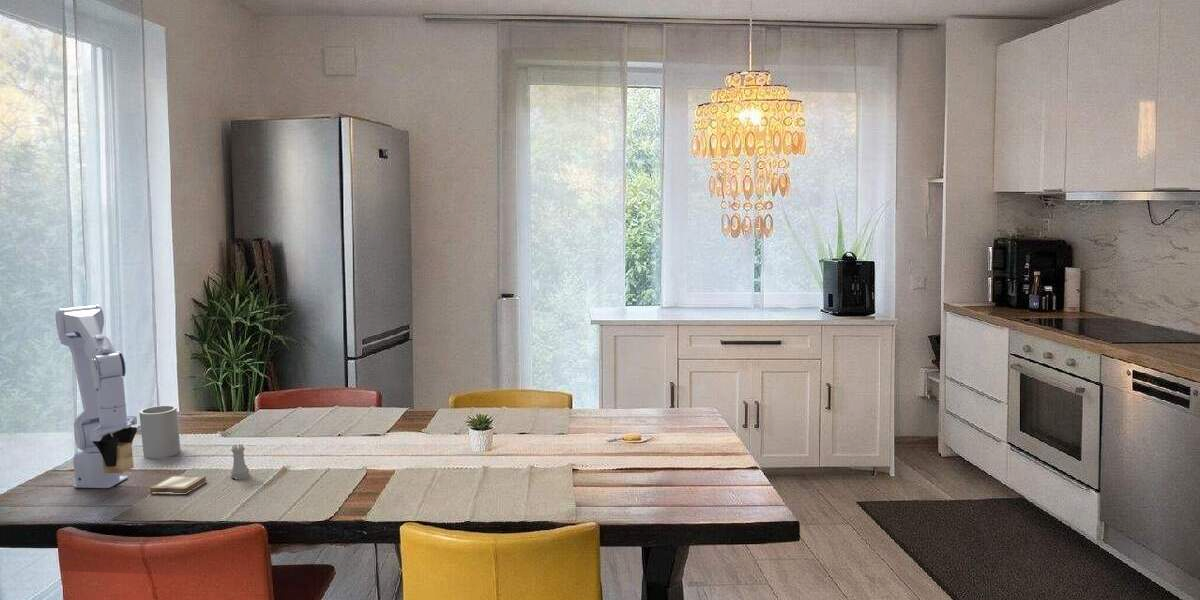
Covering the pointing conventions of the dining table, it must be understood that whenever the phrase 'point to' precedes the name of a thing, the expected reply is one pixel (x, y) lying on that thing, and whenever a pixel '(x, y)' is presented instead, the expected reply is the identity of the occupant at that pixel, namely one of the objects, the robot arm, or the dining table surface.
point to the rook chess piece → (239, 462)
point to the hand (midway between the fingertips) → (117, 462)
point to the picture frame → (178, 484)
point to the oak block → (121, 459)
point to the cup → (159, 431)
